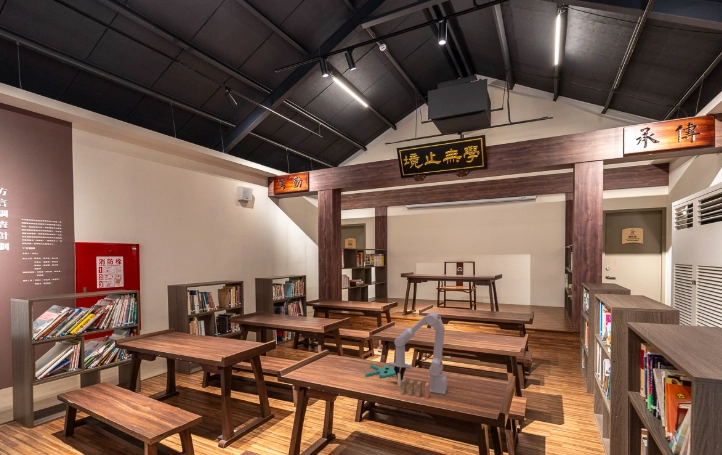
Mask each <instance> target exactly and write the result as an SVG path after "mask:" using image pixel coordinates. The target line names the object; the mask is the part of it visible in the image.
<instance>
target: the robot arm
mask: <svg viewBox="0 0 722 455" xmlns="http://www.w3.org/2000/svg"><path fill="white" fill-rule="evenodd" d="M424 326H430V327H431V328H432V329H433V330H434V331H435V334H434V336H435V337H434V346H433V353H432V354H433V355H432V360H431V364H430V366H429V368H428V370H429V383H430V393H434V394H435V393H436V394H442V395H445V394H446V393H447V391H448V385H447V384H448V379H447V378H448V377H447V375H444V374H443V371H444V370H443V369H444V364H443V348H444V339H445V329H446V327H445V325H444V323H443V320H442V318H441V315H439V314H438V312H435V311H432V312H430V313H429V314H427V315H426V316H425V315H424V316H423V317H422V318H420V320H418V321H417V322H416V323H415V324H414V325H413V326H412V327H410V328H409V327H408V328H405V329H404V331H403V332H401V333H400V334H398V337H396V338H395V339H394V345H395V362H393V361H391V362H390V361H389V362H388V365H387V366H390V367H393V368H394V371H395V373H396V375H397V376H396V379H397V381H398V373H399V372H400V371H401V380H403V379H404V376H405V372H406V370H412V369H413V364H408V363H406V346H405V345H406V344H407V343H408V342H409V341H410V340H411V339H412V338H414V337H415V333H416V332H417V331H418V330H419V329H421V328H422V327H424Z"/></svg>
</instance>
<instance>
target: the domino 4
mask: <svg viewBox="0 0 722 455" xmlns="http://www.w3.org/2000/svg"><path fill="white" fill-rule="evenodd" d="M430 396H431V392H430V381H429V382H425V384H424V399H426V400H428V399H429V398H430Z"/></svg>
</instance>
